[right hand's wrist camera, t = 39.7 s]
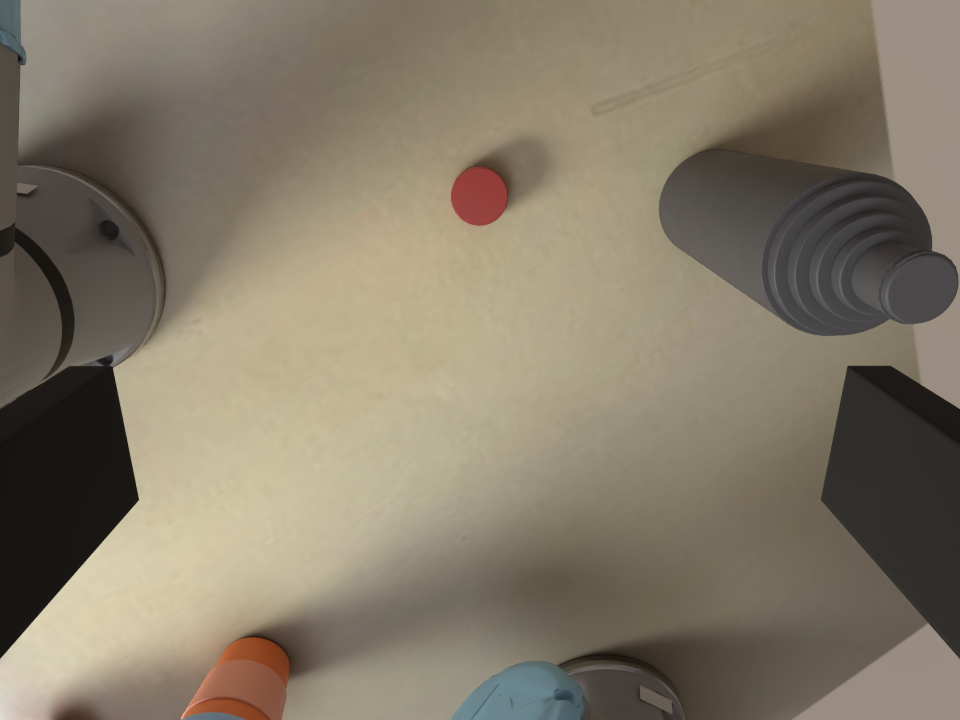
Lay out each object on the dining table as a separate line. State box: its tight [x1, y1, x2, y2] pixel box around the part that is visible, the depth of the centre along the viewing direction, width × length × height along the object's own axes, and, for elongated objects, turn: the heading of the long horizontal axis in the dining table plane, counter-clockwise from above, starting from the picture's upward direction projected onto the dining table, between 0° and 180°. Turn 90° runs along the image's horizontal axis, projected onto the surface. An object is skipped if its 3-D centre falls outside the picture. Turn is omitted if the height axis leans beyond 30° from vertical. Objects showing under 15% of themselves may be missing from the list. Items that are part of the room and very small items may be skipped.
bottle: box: [659, 150, 958, 336], centre depth 37 cm, size 7×7×24 cm
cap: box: [451, 166, 508, 226], centre depth 47 cm, size 4×4×2 cm
